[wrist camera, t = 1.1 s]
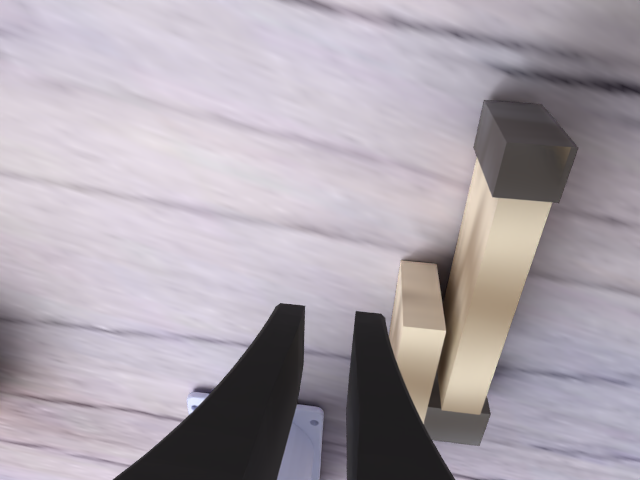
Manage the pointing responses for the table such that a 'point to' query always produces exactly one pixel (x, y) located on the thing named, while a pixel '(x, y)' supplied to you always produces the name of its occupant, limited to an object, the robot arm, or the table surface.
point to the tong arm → (498, 242)
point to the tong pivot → (427, 354)
